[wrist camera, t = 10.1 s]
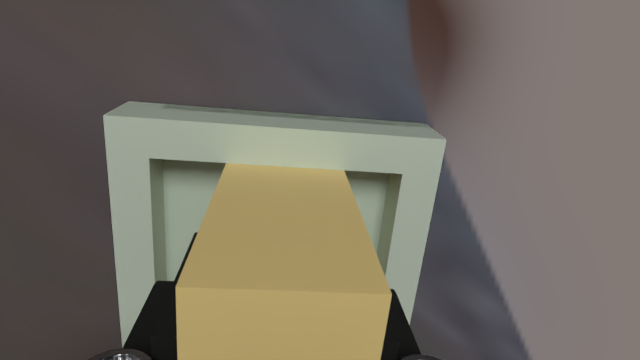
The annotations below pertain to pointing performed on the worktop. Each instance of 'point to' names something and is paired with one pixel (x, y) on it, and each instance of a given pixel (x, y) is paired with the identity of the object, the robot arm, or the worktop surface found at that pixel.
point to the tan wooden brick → (282, 271)
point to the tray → (258, 149)
